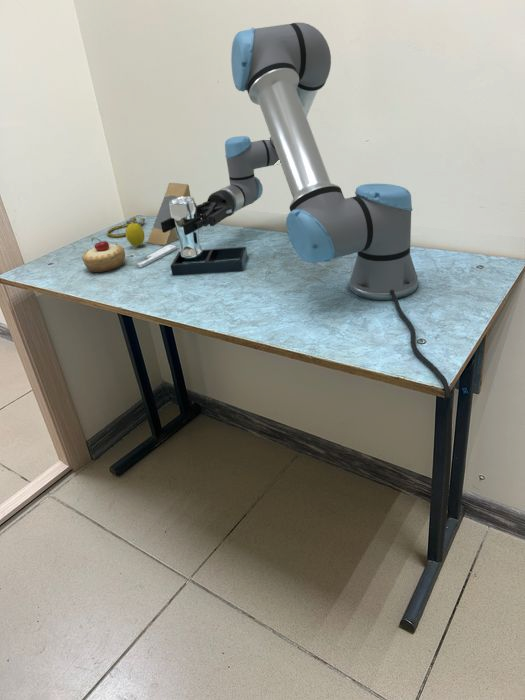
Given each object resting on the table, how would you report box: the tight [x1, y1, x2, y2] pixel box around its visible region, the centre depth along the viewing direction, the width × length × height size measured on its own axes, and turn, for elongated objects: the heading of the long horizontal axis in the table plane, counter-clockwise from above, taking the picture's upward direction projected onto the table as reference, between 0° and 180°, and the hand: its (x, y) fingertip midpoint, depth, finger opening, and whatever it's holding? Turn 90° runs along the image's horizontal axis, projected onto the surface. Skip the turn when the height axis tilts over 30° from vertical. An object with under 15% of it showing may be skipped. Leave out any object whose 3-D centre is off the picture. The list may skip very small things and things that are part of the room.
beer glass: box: [169, 196, 203, 258], centre depth 145 cm, size 7×7×15 cm
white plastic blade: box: [136, 244, 178, 268], centre depth 161 cm, size 5×15×1 cm, turn 145°
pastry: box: [81, 237, 126, 273], centre depth 156 cm, size 12×12×9 cm
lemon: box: [125, 222, 145, 248], centre depth 168 cm, size 6×6×8 cm
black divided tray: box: [170, 246, 248, 277], centre depth 149 cm, size 10×19×3 cm, turn 85°
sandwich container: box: [146, 182, 192, 246], centre depth 172 cm, size 9×15×15 cm, turn 145°
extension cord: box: [106, 216, 146, 238], centre depth 186 cm, size 12×16×2 cm
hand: (173, 228), depth 140 cm, fingers closed on beer glass, 7 cm apart
